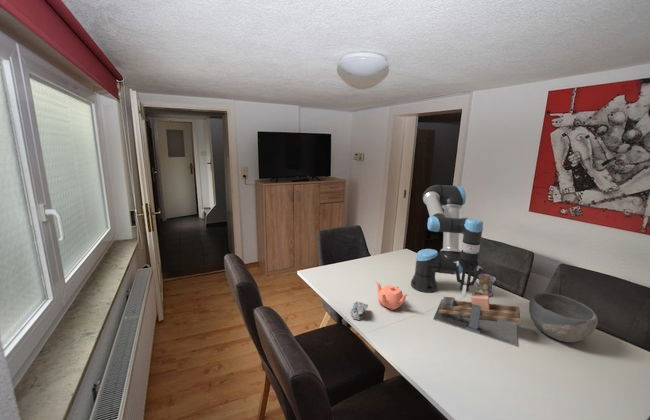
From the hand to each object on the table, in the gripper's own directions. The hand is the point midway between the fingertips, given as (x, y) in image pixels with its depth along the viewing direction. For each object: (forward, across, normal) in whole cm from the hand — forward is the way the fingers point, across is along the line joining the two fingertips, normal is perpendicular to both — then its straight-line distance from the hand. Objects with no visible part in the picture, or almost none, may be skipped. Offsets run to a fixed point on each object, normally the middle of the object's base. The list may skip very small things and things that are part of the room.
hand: (463, 296), depth 140 cm
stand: (+12, +6, 0) cm, 14 cm away
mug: (+12, +7, +37) cm, 40 cm away
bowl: (+12, +40, +13) cm, 43 cm away
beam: (+8, +8, 0) cm, 11 cm away
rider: (+5, +8, 0) cm, 9 cm away
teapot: (+12, -34, -10) cm, 37 cm away
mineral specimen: (+12, -43, -26) cm, 52 cm away
